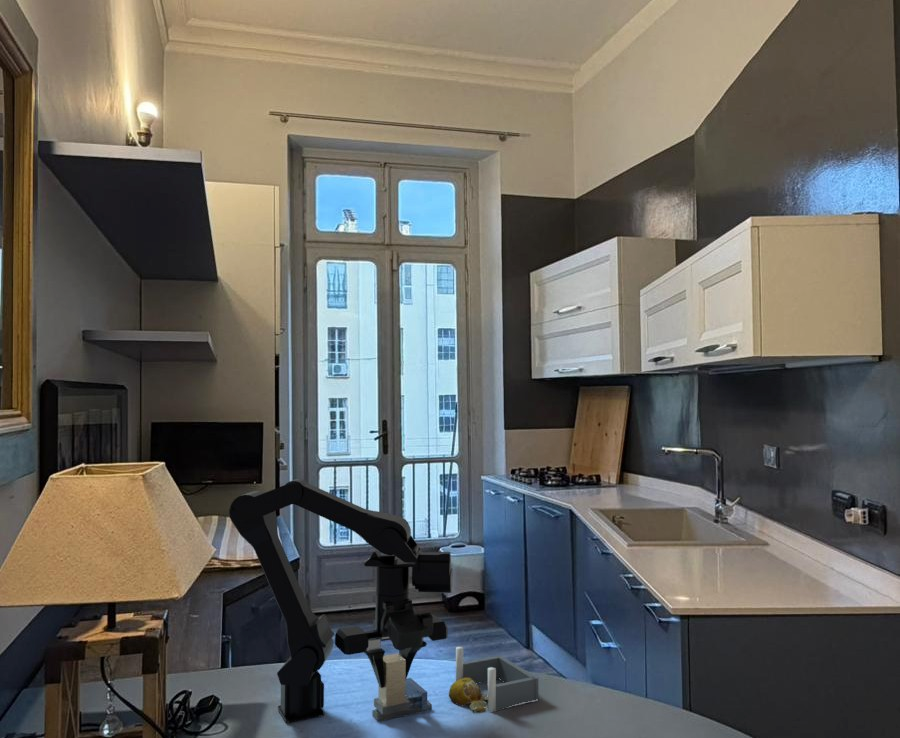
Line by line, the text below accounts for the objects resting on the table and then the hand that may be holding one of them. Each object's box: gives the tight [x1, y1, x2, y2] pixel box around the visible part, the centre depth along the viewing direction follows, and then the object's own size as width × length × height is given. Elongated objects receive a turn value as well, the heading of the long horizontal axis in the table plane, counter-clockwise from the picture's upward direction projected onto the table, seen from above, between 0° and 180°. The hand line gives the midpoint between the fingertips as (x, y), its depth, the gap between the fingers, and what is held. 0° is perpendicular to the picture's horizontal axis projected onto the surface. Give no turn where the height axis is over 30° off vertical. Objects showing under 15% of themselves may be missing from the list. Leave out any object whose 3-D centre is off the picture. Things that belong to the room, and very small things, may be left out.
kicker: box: [373, 652, 428, 715], centre depth 120 cm, size 8×7×8 cm
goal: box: [455, 646, 540, 713], centre depth 128 cm, size 10×13×7 cm
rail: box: [372, 699, 433, 723], centre depth 120 cm, size 10×2×1 cm, turn 117°
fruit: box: [448, 678, 488, 712], centre depth 125 cm, size 8×8×4 cm
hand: (392, 685), depth 119 cm, fingers closed on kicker, 3 cm apart
